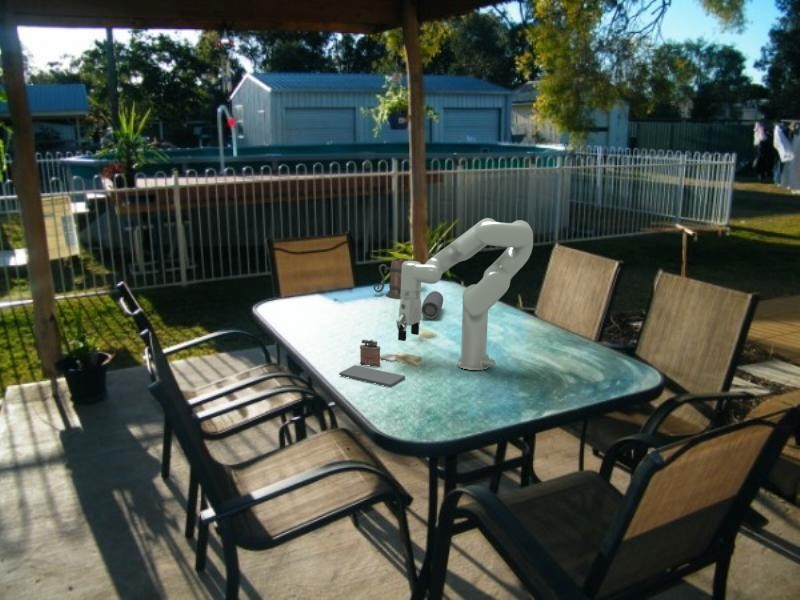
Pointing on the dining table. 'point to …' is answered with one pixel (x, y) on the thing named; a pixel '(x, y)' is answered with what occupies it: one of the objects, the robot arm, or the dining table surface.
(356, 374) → the mat
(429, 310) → the bluetooth speaker
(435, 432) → the dining table surface
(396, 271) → the tankard
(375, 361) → the lighter
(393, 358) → the turner
